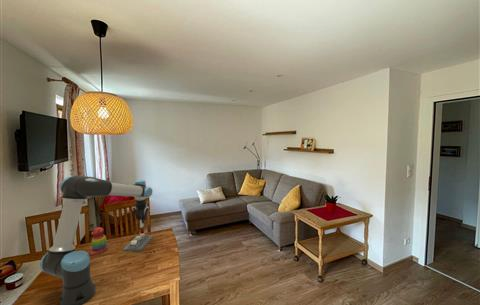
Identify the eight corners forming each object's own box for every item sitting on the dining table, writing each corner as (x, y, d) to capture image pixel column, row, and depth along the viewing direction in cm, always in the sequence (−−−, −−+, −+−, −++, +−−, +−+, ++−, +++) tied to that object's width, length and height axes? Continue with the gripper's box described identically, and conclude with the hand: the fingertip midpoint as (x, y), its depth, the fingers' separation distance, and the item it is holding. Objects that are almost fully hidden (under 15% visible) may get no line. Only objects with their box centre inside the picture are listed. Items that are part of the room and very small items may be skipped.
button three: (143, 239, 169) (143, 235, 169) (138, 239, 169) (138, 235, 169) (146, 236, 173) (145, 233, 173) (141, 236, 173) (141, 233, 173)
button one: (135, 246, 156) (135, 242, 156) (130, 246, 156) (129, 242, 156) (138, 243, 160) (137, 239, 160) (133, 243, 160) (132, 239, 160)
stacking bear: (92, 248, 158) (91, 226, 157) (108, 245, 162) (106, 223, 161) (89, 256, 148) (87, 232, 147) (105, 252, 153) (104, 229, 151)
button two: (139, 241, 163) (139, 237, 162) (134, 241, 163) (134, 237, 162) (142, 239, 167) (142, 235, 166) (137, 239, 167) (137, 235, 166)
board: (141, 251, 155) (140, 247, 155) (122, 250, 155) (122, 247, 155) (152, 237, 175) (152, 234, 174) (136, 237, 175) (136, 234, 175)
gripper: (150, 197, 172) (151, 225, 174) (135, 197, 172) (136, 225, 174) (146, 200, 164) (147, 229, 166) (130, 200, 165) (131, 229, 166)
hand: (141, 227), depth 170 cm, fingers closed
